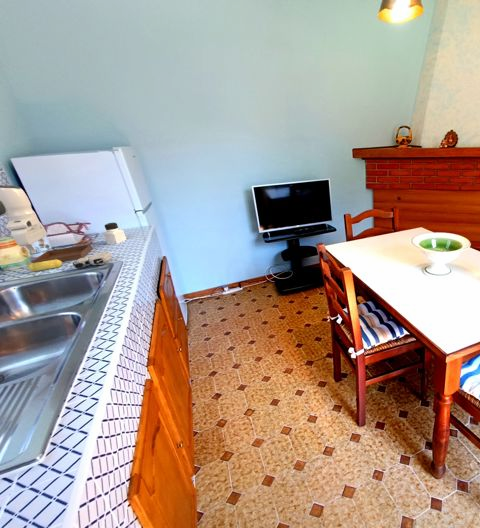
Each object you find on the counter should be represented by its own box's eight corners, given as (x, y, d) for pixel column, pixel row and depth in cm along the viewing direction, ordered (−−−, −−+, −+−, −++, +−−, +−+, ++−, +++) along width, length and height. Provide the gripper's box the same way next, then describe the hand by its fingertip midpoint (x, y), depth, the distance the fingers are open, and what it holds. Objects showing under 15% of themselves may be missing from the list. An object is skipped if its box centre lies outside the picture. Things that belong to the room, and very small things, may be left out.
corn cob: (28, 273, 140) (25, 265, 139) (32, 270, 144) (28, 262, 142) (61, 267, 145) (58, 260, 143) (64, 265, 148) (61, 257, 147)
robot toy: (72, 274, 139) (110, 264, 144) (67, 265, 137) (106, 256, 143) (79, 265, 149) (115, 257, 154) (75, 257, 147) (111, 249, 153)
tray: (34, 266, 148) (31, 261, 147) (49, 255, 164) (47, 250, 163) (82, 259, 156) (80, 253, 155) (92, 249, 172) (90, 244, 171)
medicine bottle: (127, 240, 185) (120, 221, 180) (117, 244, 179) (110, 224, 174) (117, 240, 186) (110, 221, 181) (107, 244, 180) (99, 225, 175)
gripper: (26, 218, 143) (39, 245, 148) (3, 227, 126) (19, 257, 131) (43, 216, 145) (56, 243, 151) (23, 224, 128) (38, 254, 133)
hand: (39, 250), depth 141 cm, fingers open, 8 cm apart
